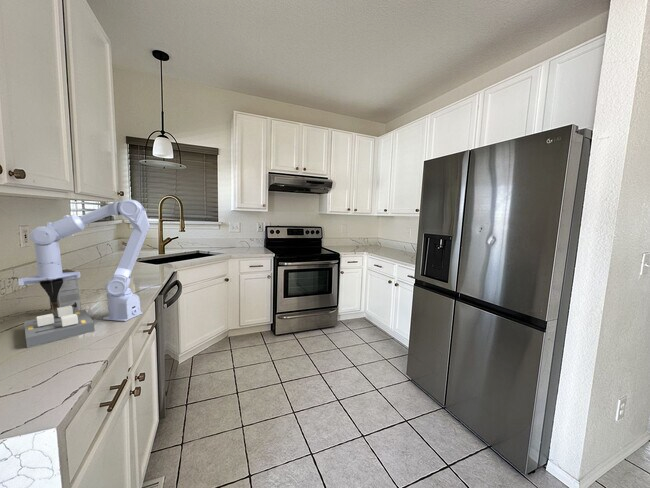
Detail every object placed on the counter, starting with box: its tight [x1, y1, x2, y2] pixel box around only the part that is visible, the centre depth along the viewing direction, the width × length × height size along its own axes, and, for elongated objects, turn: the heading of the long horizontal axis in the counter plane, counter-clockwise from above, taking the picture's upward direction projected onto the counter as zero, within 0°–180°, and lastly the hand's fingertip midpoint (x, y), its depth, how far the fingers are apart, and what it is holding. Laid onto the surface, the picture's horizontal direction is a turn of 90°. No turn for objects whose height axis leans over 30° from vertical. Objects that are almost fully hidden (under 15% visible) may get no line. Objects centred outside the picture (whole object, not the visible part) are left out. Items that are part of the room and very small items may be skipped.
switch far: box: [57, 306, 73, 317], centre depth 93 cm, size 4×3×2 cm
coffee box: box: [49, 268, 82, 315], centre depth 102 cm, size 9×6×16 cm
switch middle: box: [36, 312, 54, 327], centre depth 85 cm, size 4×3×2 cm
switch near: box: [61, 314, 78, 327], centre depth 86 cm, size 4×3×2 cm
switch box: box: [23, 309, 96, 349], centre depth 88 cm, size 15×17×3 cm
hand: (53, 301), depth 91 cm, fingers closed
